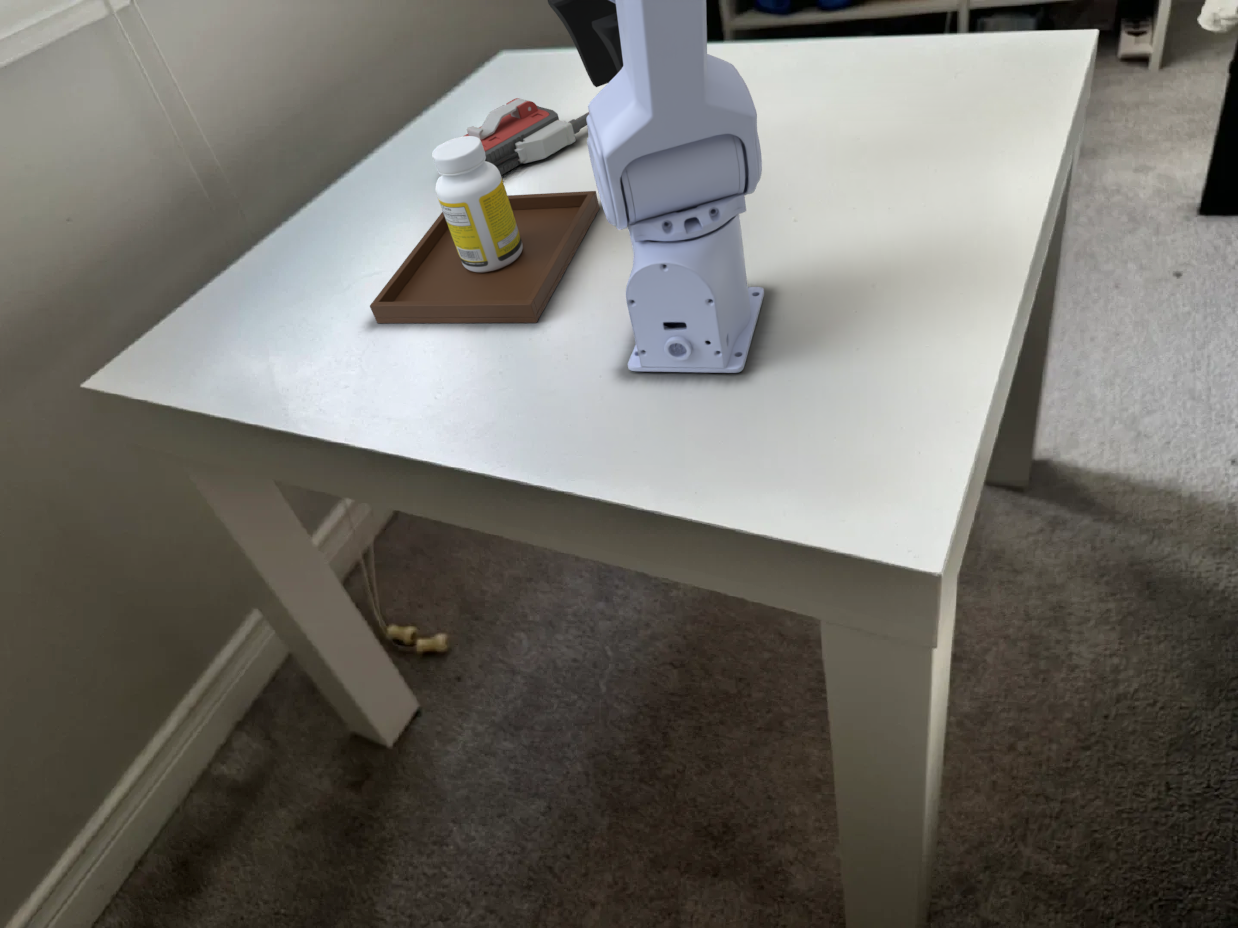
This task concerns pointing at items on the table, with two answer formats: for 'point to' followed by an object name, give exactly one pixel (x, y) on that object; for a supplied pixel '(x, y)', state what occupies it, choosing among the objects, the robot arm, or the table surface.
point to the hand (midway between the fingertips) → (625, 95)
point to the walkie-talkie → (523, 133)
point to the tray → (506, 295)
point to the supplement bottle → (475, 205)
